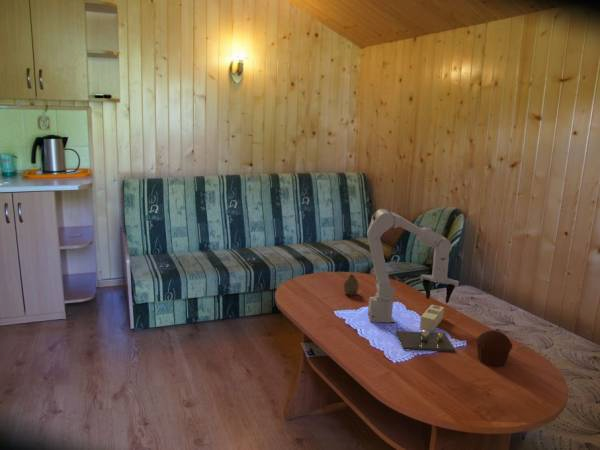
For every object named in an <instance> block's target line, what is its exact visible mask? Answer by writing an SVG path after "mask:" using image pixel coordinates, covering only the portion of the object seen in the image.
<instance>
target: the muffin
mask: <svg viewBox="0 0 600 450" xmlns="http://www.w3.org/2000/svg"><path fill="white" fill-rule="evenodd" d="M476 345H477V359H478V360H479V362H480V363H481V364H484V365H485V366H489V367H494V368H499V367H500V368H501V367H504V366H505V365H506V363H507V361H508V358H509V355H510V351H511V350H512V349H513V343H512V342H511V340H510V338H509V337H508V336H507V335H506V334H505V333H503V332H501V331H498V330H487V331H485V332H482V333H481V334H480V335H478V337H477V338H476Z"/></svg>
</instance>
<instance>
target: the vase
mask: <svg viewBox="0 0 600 450" xmlns="http://www.w3.org/2000/svg"><path fill="white" fill-rule="evenodd" d="M359 287H360V283H359V280H358V279H357V278H356V276H355V275H354V274H349V275H348V277H347V278H346V279H345V280H344V282H343V292H344V293H345V294H346V295H348V296H355V295H356V294H357V293H358V292H359V289H360V288H359Z"/></svg>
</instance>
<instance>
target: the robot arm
mask: <svg viewBox="0 0 600 450" xmlns="http://www.w3.org/2000/svg"><path fill="white" fill-rule="evenodd" d="M391 228H393V229H396V228H402V229H403V230H406V231H408V232H410V233H411V234H414V235H415V236H416V238H417V240H418V242H421V243H423V244H424V245H426V246H428V247H430V248H433V249H434V250H433V251H434V252H433V260H432V262H433V263H432V272H431V273H432V274H423V273H422V274H420V281H421V285H422V286H423V289H424V291H425V296H426V299H427V300H429V299H430V297H431V288H432V282H433V283H437V284H443V285H447V286H446V287H445V289H446V294H445V295H446V297H445V304H448V303H449V302H450V298H451V295H452V294H453V291H454V290H455V288H457V287H459V283H460V281H459V280H455V279H452V278H449V277H448V273H449V258H450V257H449V256H450V253H451V252H452V249H453V247H452V244H451V242H450V240H448V238H446V237H445V236H444V235H442V234H441V233H439V234H438V233H437V232H435V231H434V230H433V229H432V228H431V227H426V226H423V227H419V226H417V225H416V224H414V223H413V222H411V221H409V220H408V219H406V218H404V217H403V216H401V215H399V214H397V213H395V212H393V211H389V210H388V209H387V208H380V209H378V210H376V211H375V212H374V213H373V215H372V216H371V221H370V223H369V226H368V229H367V231H366V237H367V240H368V245H369V251H370V253H371V260H372V262H373V263H372V265H373V269H374V272H375V279H376V282H375V289H376V293H375V294H374V296H370V297H369V299H368V308H367V316H369V317H368V319H370V320H369V322H370V321H371V323H390V322H394V323H395V320H394V317H393V309H394V308H393V307H394V306H393V305H394V297H395V296H396V295H395V294H396V292H395V291H396V290H395V288H394V287H393V286H392V283H391V280H390V277H389V274H388V273H389V272H388V269H387V263H386V260H385V255H384V254H385V253H384V249H383V245H382V241H381V237H382V235H383V234H384V233H385V232H387V231H388V230H390V229H391Z"/></svg>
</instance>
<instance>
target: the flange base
mask: <svg viewBox="0 0 600 450" xmlns="http://www.w3.org/2000/svg"><path fill="white" fill-rule="evenodd" d="M421 330H422V331H406V330H405V331H403V330H397V331H396V333H397V334H396V336H397V338H399V339H398V341H399V340H400V341H399V343H400V342H401V343H400V345H401V348H402V347H403V348H402V350H403V349H409V350H408V351H426V352H427V351H429V352H431V351H432V352H454V353H455V352H456V348H455V346H454V345H453V344H452V342H451V340H450V339H449V338H448V336H447V335H446V333H445V332H434V331H433V332H431V331H429V330H426V329H421Z"/></svg>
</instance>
